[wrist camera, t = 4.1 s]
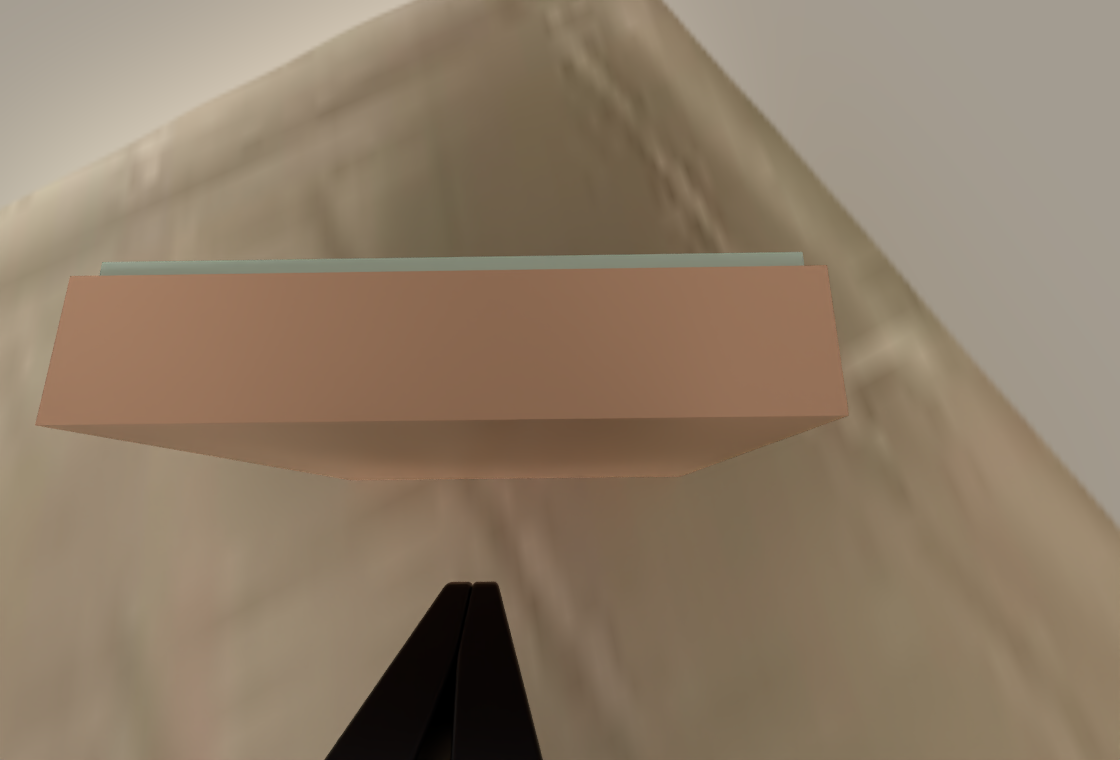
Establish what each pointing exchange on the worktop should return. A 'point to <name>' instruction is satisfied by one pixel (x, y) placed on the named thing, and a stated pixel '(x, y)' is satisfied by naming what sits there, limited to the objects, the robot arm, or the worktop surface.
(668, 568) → the worktop surface
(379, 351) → the tile
